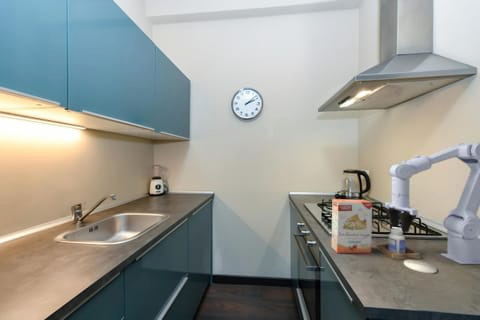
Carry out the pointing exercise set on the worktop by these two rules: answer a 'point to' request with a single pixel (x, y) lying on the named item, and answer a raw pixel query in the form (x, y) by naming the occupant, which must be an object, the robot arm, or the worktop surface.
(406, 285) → the worktop surface
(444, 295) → the worktop surface
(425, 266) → the white disc
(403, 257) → the socket block
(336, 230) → the cracker box
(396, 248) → the pill bottle
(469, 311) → the worktop surface
